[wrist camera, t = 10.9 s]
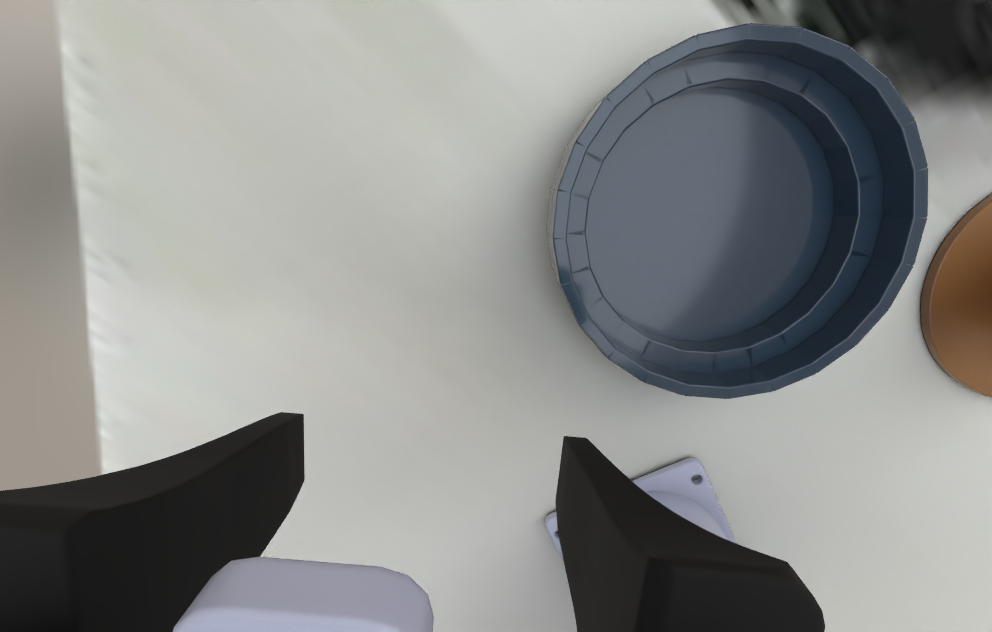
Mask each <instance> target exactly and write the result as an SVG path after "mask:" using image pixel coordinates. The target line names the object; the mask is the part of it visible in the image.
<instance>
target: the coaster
mask: <svg viewBox="0 0 992 632" xmlns="http://www.w3.org/2000/svg"><path fill="white" fill-rule="evenodd" d="M921 325H922V329H923V334H924V338H925V341H926V343H927V346H928V349H929V351H930V352H931V354H932V356H933V357H934V359H935V361H936V362H937V363H938V364H939V366H940V367H941V368H942V369H943V370H944V372H946V373H947V374H948V375H949V376H950V377H951V378H953V379H954V380H955V381H957V382H958V383H960V384H962V385H963V386H965V387H967V388H969V389H972V390H974V391H976V392H979V393H981V394H983V395H986V396H989V397H992V195H990V196H989V197H987V198H985V199H984V200H983V201H982V202H980V203H979V204H978V205H977V206H975V207H974V208H973V209H972V210H970V211H969V212H968V213H967V214H966V215H965V216H964V217H963V218H962V219H961V220H960V221H959V222H958V223H957V225H956V226H955V227H954V228H953V230H952V231H951V232H950V233H949V235H948V236H947V237H946V239H945V240H944V242H943V243H942V245H941V246H940V248H939V250H938V251H937V253H936V255H935V257H934V259H933V261H932V263H931V265H930V268H929V271H928V273H927V276H926V279H925V283H924V287H923V292H922V298H921Z"/></svg>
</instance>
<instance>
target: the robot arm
mask: <svg viewBox="0 0 992 632" xmlns="http://www.w3.org/2000/svg"><path fill="white" fill-rule="evenodd" d="M694 475H700V476H699V478H697V479H696V480H692V477H693V476H694ZM303 482H304V415H303V414H295V413H283V412H281V413H278V414H274V415H271V416H269V417H266V418H264V419H261V420H259V421H257V422H254V423H252V424H250V425H248V426H245V427H243V428H241V429H238V430H236V431H234V432H231V433H229V434H227V435H225V436H222V437H220V438H217V439H215V440H212V441H210V442H207V443H205V444H202V445H200V446H197V447H195V448H192V449H190V450H187V451H184V452H182V453H179V454H176V455H173V456H170V457H167V458H164V459H161V460H158V461H154V462H151V463H148V464H144V465H141V466H137V467H133V468H129V469H125V470H121V471H117V472H113V473H109V474H104V475H100V476H96V477H91V478H86V479H81V480H76V481H71V482H65V483H59V484H52V485H46V486H39V487H32V488H23V489H15V490H5V491H0V632H433V619H434V617H433V613H432V609H431V605H430V601H429V597H428V594H427V593H426V592H425V591H424V590H423V589H422V588H421V587H420V586H419V585H418V584H417V583H416V582H415V581H414V580H413V579H412V578H410V577H409V576H408V575H405V574H402V573H399V572H396V571H392V570H389V569H386V568H383V567H376V566H364V565H352V564H340V563H328V562H316V561H304V560H292V559H280V558H268V557H260V556H261V554H262V553H263V551H264V550H265V548H266V547H267V545H268V544H269V542H270V541H271V539H272V538H273V536H274V535H275V533H276V532H277V530H278V529H279V527H280V526H281V524H282V522H283V521H284V519H285V518H286V516H287V515H288V513H289V512H290V510H291V508H292V506H293V504H294V502H295V500H296V498H297V495H298V493H299V491H300V489H301V487H302V484H303ZM545 526H546V530H547V531H548V533H549V535H550V537H551V539H552V541H553V543H554V545H555V547H556V548H557V550H558V552H559V554H560V556H561V558H562V560H563V562H564V565H565V569H566V574H567V578H568V583H569V588H570V592H571V597H572V602H573V606H574V612H575V618H576V624H577V632H824V630H825V623H824V618H823V613H822V610H821V608H820V606H819V605H818V603H817V601H816V600H815V598H814V596H813V595H812V594H811V592H810V591H809V590H808V588H807V587H806V586H805V584H804V583H803V582H802V580H801V579H800V578H799V576H798V575H797V574H796V572H795V571H794V570H793V568H792V567H791V566H790V565H789V564H788V562H785V561H783V560H780V559H777V558H774V557H771V556H768V555H765V554H762V553H760V552H757V551H754V550H751V549H748V548H745V547H743V546H741V545H738V544H736V541H735V539H734V537H733V535H732V532H731V530H730V528H729V525H728V523H727V521H726V518H725V516H724V514H723V511H722V509H721V507H720V504H719V502H718V500H717V497H716V495H715V493H714V491H713V488H712V486H711V484H710V481H709V479H708V477H707V474H706V472H705V470H704V467H703V466H702V464H701V463H700V461H699V460H698V459H696V458H687V459H684V460H682V461H679V462H677V463H674V464H672V465H669V466H667V467H664V468H662V469H659V470H657V471H654V472H652V473H649V474H647V475H644V476H642V477H640V478H637V479H635V480H632V481H631V480H630V479H629V478H628V477H627V476H625V475H624V474H623V473H622V472H621V471H620V470H619V469H618V468H617V467H616V466H614V465H613V464H612V463H611V462H610V461H609V460H608V459H607V458H606V457H605V456H604V455H603V454H602V453H601V452H600V451H599V450H598V449H597V448H596V447H595V446H594V445H593V444H592V443H591V442H590V441H589V440H588V439H587V438H580V437H568V436H564V440H563V447H562V455H561V463H560V471H559V478H558V486H557V494H556V512H553V513H551V514H549V515H548V516H547V517H546V519H545ZM557 530H558V533H556V532H555V531H557Z"/></svg>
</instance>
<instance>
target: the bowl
mask: <svg viewBox="0 0 992 632" xmlns="http://www.w3.org/2000/svg"><path fill="white" fill-rule="evenodd" d="M887 78H888V77H887V76H886V75H884V74H883V73H882V72H881V71H880V70H878V69H877V68H876V67H875V66H874V65H872V64H871V63H870V62H869V61H867V60H866V59H865V58H864V57H863V56H861V55H860V54H859V53H858V52H857V51H855V50H854V49H853V48H852V47H849V45H846V44H844V43H841V42H838V41H836V40H833V39H831V38H828V37H826V36H823V35H821V34H818V33H816V32H813V31H810V30H808V29H805V28H802V27H794V26H780V25H767V24H753V23H750V24H743V25H739V26H734V27H729V28H725V29H720V30H715V31H711V32H706V33H701V34H697V35H696V36H692V37H690V38H688V39H686V40H684V41H682V42H681V43H679V44H677V45H675V46H673V47H671V48H669V49H667V50H665V51H663V52H661V53H659V54H657V55H655V56H653V57H651V58H650V59H648V60H647V61H645V62H644V63H643V64H641V65H640V66H639V67H638V68H637V69H636V70H635V71H634V72H632V73H631V74H630V75H629V76H628V77H627V78H626V79H625V80H623V81H622V82H621V83H620V84H619V85H618V86H617V87H616V88H615V89H613V90H612V91H611V92H610V93H609V94H608V95H607V96H606V97H604V98H603V99H602V100H601V101H600V102H599V103H598V104H597V105H596V106H594V107H593V109H592V110H591V111H590V112H589V114H588V115H587V117H586V118H585V119H584V121H583V122H582V124H581V125H580V127H579V128H578V130H577V131H576V133H575V134H574V136H573V137H572V139H571V140H570V142H569V143H568V145H567V148H565V150H564V153H563V156H562V159H561V161H560V164H559V167H558V170H557V172H556V175H555V178H554V181H553V184H552V186H551V191H550V200H549V210H548V221H547V238H548V244H549V250H550V256H551V262H552V268H553V271H554V275H555V277H556V279H557V281H558V283H559V286H560V288H561V290H562V292H563V294H564V296H565V298H566V301H567V303H568V305H569V307H570V309H571V311H572V313H573V315H574V317H575V319H576V321H577V323H578V324H579V326H580V327H581V328H582V330H583V331H584V332H585V333H586V334H587V335H588V337H589V338H590V339H591V340H592V341H593V342H594V344H595V345H596V346H597V347H598V348H599V349H600V351H601V352H602V353H603V354H604V355H605V356H606V357H607V358H608V359H609V360H611V361H612V362H614V363H615V364H617V365H618V366H620V367H621V368H623V369H624V370H626V371H627V372H629V373H630V374H632V375H633V376H635V377H636V378H638V379H639V380H640V381H643V382H645V383H648V384H651V385H654V386H656V387H659V388H662V389H665V390H668V391H671V392H674V393H677V394H680V395H685V396H696V397H709V398H723V399H727V398H728V399H730V398H736V397H742V396H748V395H754V394H760V393H766V392H772V391H775V390H778V389H780V388H783V387H785V386H787V385H790V384H792V383H795V382H797V381H800V380H802V379H804V378H807V377H809V376H812V375H814V374H816V373H818V372H819V371H821V370H822V369H823V368H825V367H826V366H828V365H829V364H831V363H832V362H833V361H835V360H836V359H838V358H839V357H841V356H842V355H843V354H845V353H846V352H848V351H849V350H851V349H852V348H853V347H855V345H857V344H858V343H859V342H860V341H861V340H862V338H863V337H864V336H865V335H866V334H867V333H868V332H869V331H870V330H871V329H872V327H873V326H874V325H875V324H876V323H877V322H878V321H879V320H880V319H881V318H882V316H883V315H884V314H885V313H886V312H887V311H888V308H890V307H891V305H892V303H893V301H894V300H895V298H896V296H897V294H898V292H899V291H900V289H901V287H902V285H903V284H904V282H905V280H906V278H907V276H908V275H909V273H910V271H911V269H912V268H913V265H914V263H915V259H916V256H917V252H918V248H919V245H920V241H921V238H922V234H923V230H924V227H925V223H926V220H927V218H926V217H927V208H928V168H926V167H927V166H928V165H927V162H926V158H925V154H924V151H923V147H922V143H921V140H920V136H919V132H918V129H917V125H916V121H915V120H914V117H913V116H912V114H911V112H910V111H909V109H908V108H907V106H906V105H905V103H904V101H903V100H902V98H901V97H900V95H899V94H898V92H897V90H896V89H895V87H894V86H893V84H892V83H891V81H890V79H887Z"/></svg>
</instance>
